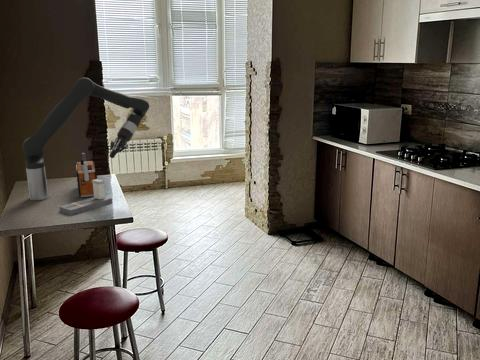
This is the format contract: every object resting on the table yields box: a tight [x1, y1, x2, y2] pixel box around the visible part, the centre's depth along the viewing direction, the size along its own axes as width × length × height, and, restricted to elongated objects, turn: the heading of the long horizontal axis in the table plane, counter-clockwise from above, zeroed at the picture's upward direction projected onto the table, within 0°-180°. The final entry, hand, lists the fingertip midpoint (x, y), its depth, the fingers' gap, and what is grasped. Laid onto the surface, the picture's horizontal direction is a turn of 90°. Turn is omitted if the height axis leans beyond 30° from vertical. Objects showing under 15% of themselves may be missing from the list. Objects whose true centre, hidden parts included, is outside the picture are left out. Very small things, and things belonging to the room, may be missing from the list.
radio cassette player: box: [75, 152, 98, 198], centre depth 257 cm, size 29×10×20 cm, turn 20°
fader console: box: [59, 196, 113, 216], centre depth 231 cm, size 24×10×3 cm, turn 142°
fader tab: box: [92, 178, 106, 199], centre depth 235 cm, size 3×6×9 cm, turn 52°
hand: (111, 157), depth 242 cm, fingers closed
